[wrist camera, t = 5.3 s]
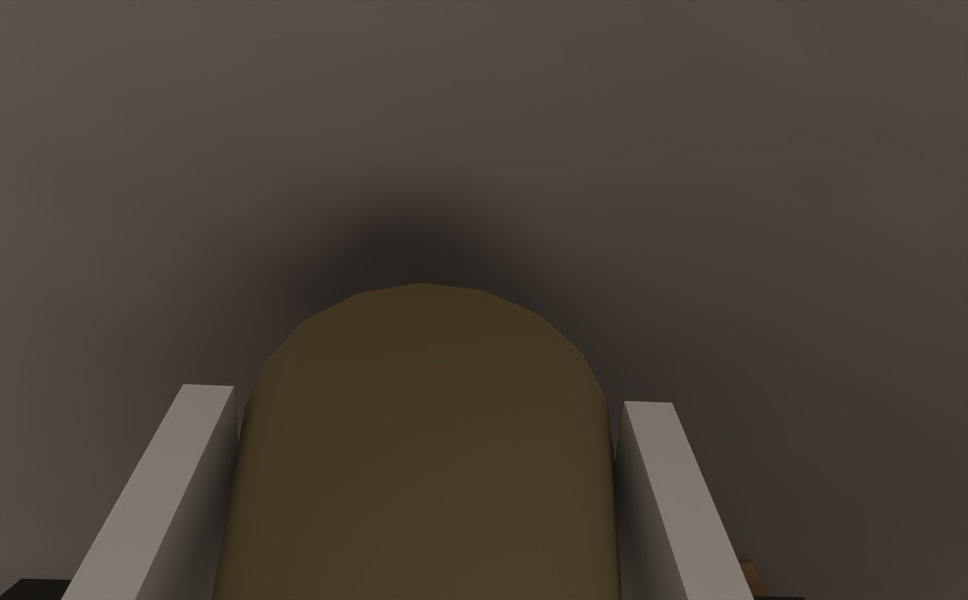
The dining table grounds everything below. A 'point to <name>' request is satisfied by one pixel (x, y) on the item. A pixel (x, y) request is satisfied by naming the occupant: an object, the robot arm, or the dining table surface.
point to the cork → (423, 459)
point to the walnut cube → (753, 579)
